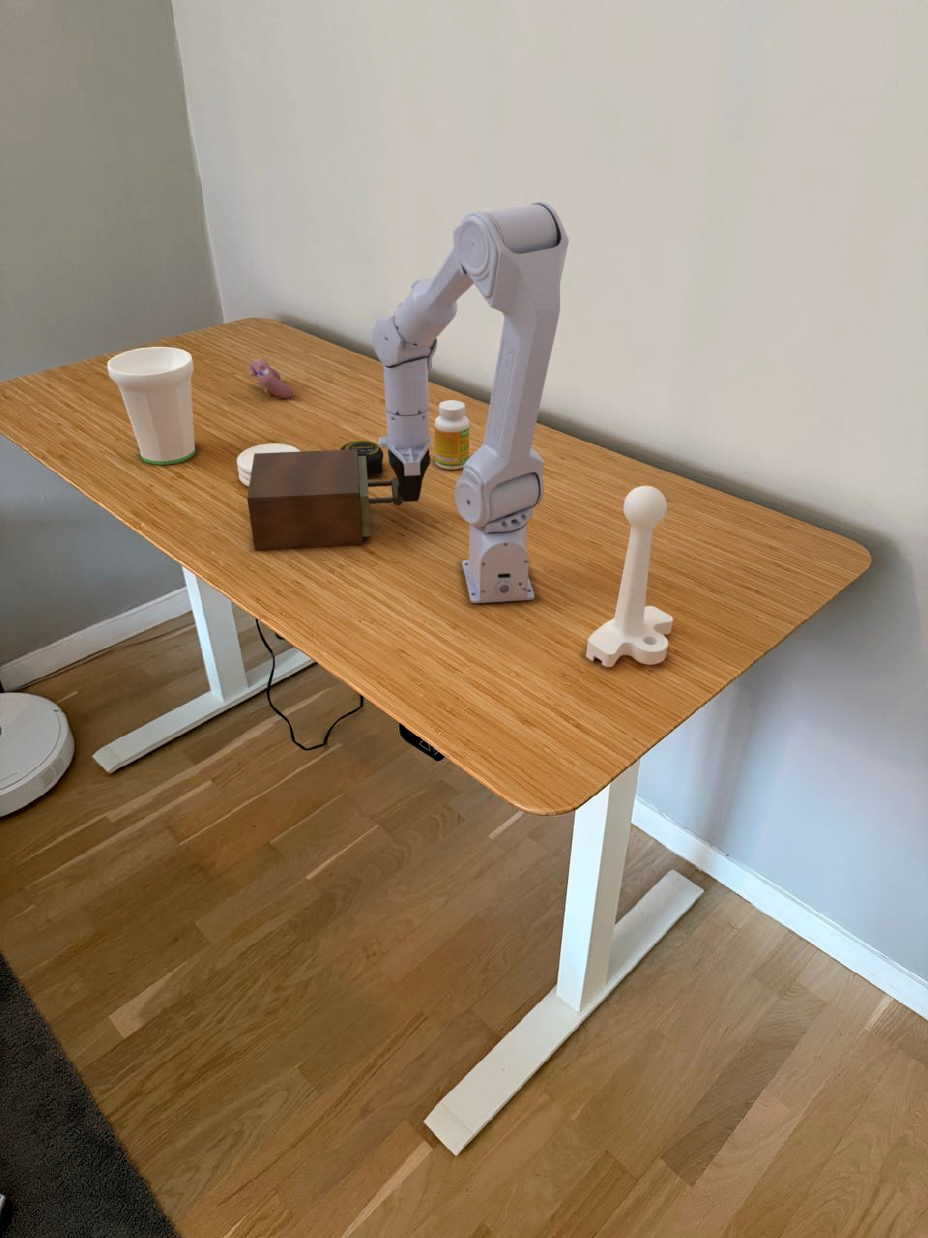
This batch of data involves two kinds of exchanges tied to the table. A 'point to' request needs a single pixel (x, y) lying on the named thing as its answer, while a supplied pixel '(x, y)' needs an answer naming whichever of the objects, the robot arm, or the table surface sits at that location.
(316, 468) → the cabinet
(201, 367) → the table surface
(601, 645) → the joystick
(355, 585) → the table surface
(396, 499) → the drawer
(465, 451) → the supplement bottle
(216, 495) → the table surface
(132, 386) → the cup
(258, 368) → the pink animal figurine
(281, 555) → the table surface
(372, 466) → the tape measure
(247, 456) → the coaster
